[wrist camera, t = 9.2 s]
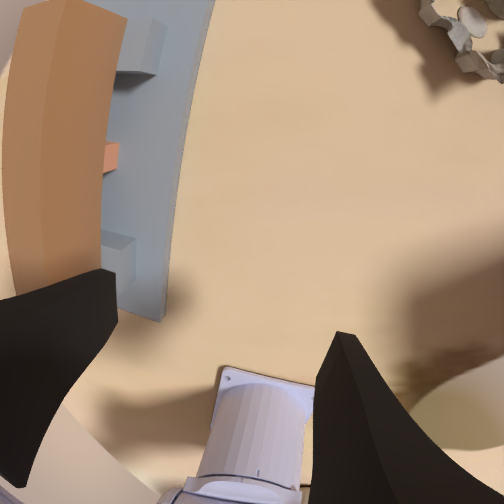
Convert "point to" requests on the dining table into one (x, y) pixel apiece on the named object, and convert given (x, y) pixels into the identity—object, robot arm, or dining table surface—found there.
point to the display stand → (148, 143)
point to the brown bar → (57, 139)
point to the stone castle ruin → (469, 37)
